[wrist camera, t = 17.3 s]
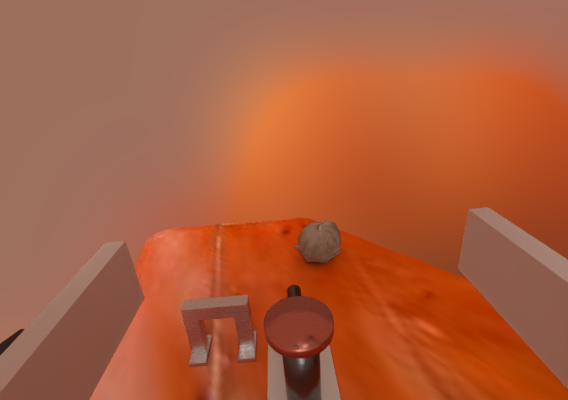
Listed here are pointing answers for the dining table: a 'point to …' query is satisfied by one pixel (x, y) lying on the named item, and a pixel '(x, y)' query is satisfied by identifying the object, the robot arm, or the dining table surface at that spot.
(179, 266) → the dining table surface
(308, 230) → the grey round lumpy ball
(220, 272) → the dining table surface
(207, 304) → the grey u-shaped bracket
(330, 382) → the pad
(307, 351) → the hook
